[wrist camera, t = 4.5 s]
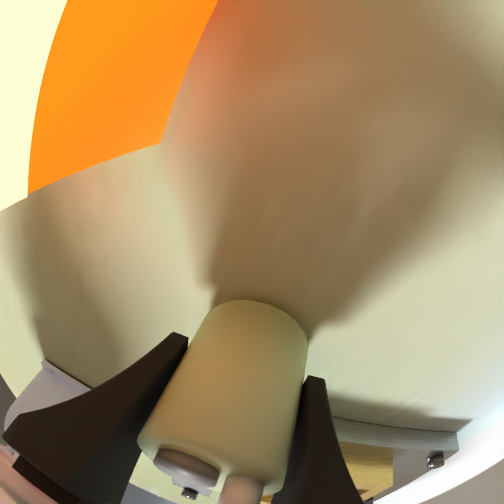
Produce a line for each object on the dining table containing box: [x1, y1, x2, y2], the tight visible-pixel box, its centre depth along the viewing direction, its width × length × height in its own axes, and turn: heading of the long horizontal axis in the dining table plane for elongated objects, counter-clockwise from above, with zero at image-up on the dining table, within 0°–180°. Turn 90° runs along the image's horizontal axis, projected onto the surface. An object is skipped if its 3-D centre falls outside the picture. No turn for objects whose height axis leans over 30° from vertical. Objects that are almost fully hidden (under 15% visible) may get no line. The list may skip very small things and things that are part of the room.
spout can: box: [137, 300, 308, 504], centre depth 9 cm, size 5×5×7 cm
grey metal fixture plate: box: [172, 417, 459, 504], centre depth 16 cm, size 18×12×5 cm, turn 78°
